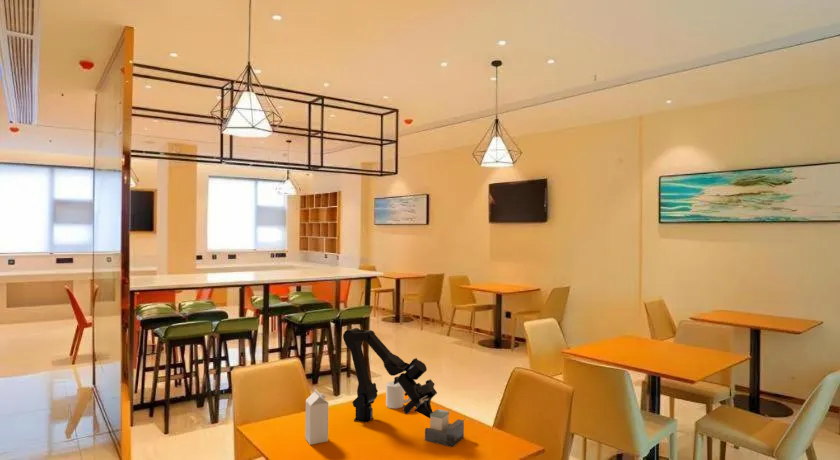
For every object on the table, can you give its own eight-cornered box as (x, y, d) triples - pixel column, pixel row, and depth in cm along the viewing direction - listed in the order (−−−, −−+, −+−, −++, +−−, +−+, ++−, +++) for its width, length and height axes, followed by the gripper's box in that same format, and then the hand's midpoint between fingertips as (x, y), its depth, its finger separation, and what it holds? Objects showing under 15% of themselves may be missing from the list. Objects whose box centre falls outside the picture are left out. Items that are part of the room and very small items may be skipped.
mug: (412, 403, 237) (412, 381, 237) (410, 409, 228) (411, 387, 228) (387, 402, 238) (387, 380, 238) (384, 408, 229) (385, 386, 229)
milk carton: (309, 445, 189) (310, 395, 190) (305, 438, 196) (305, 389, 196) (328, 441, 193) (328, 392, 193) (322, 435, 199) (323, 387, 199)
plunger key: (429, 435, 196) (430, 413, 196) (437, 429, 201) (437, 409, 201) (441, 437, 193) (441, 416, 193) (448, 432, 199) (449, 411, 199)
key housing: (424, 440, 195) (425, 422, 195) (436, 431, 204) (437, 414, 204) (452, 447, 189) (452, 428, 189) (463, 438, 198) (463, 420, 198)
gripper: (410, 380, 193) (435, 414, 188) (433, 369, 210) (456, 400, 204) (393, 397, 197) (416, 431, 192) (416, 384, 214) (439, 415, 208)
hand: (433, 418), depth 199 cm, fingers closed
